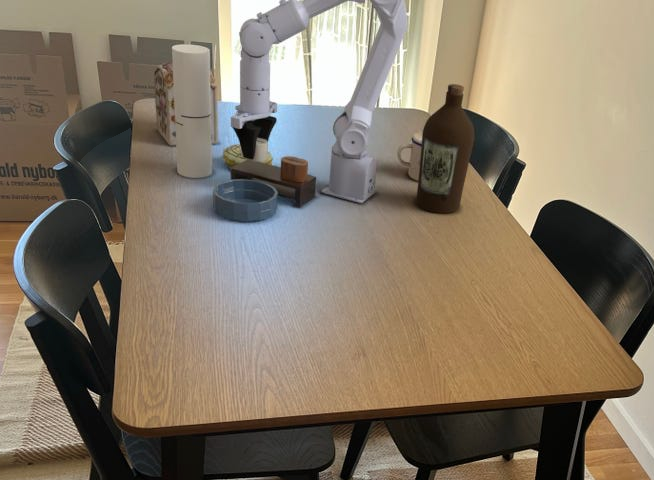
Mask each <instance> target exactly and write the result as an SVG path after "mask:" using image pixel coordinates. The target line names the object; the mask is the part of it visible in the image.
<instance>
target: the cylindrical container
mask: <svg viewBox="0 0 654 480" xmlns="http://www.w3.org/2000/svg"><path fill="white" fill-rule="evenodd" d="M210 50H211V49H209V47H206V46H202V45H197V44H188V43H187V44H186V43H185V44H184V43H183V44H175V45H173V46H172V47H171V55H172V57H171V58H172V60H171V61H172V62H173V83H174V106H175V128H176V146H175V147H176V148H175V150H176V167H177V168H176V170H177V173H178V174H179V175H180V176H182V177H184V178H185V177H186V178H193V179H199V178H200V179H202V178H206V177H209V176H212V174H213V159H212V158H213V157H212V156H213V155H212V144H211V95H210V70H211V51H210Z"/></svg>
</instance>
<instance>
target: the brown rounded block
mask: <svg viewBox="0 0 654 480" xmlns="http://www.w3.org/2000/svg"><path fill="white" fill-rule="evenodd" d="M280 167H281V171H280V177H281V178H283V179H285V180H290V181H293V182H304V181H306V180H307V174H308V171H309V168H308V167H309V161H308V160H307V159H304V158H301V157H300V158H299V157H297V156H292V155H286V156H285V155H284V156H282V157H281V158H280Z"/></svg>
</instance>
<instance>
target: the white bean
mask: <svg viewBox="0 0 654 480" xmlns="http://www.w3.org/2000/svg"><path fill="white" fill-rule="evenodd" d="M268 151H269V140H268V141H267V140H265V139H262V138H258V137H257V141H256V149H255V156H254V159H248V158H244V157H243V154H242V150H241V157H242V158H244V159H247V160H251V161H256V162H263V161H266V160H267V159H268Z"/></svg>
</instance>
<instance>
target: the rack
mask: <svg viewBox="0 0 654 480" xmlns="http://www.w3.org/2000/svg"><path fill="white" fill-rule="evenodd" d="M280 171H281V166H277V165H273V164H272V165H270V164H266V163H262V162H256V161H251V160H245V161H243V162H242V163H240V164H238V165H236V166H234V167H232V168H230V180H234V179H247V180H256V181H260V182H264V183H267V184H269V185H271V186H273V187H274V188H275V189H276V190H277V192H278V198H283V199H286V200H291V201H294V207H295V208H299V209H300V208H301V207H303V206H305V205H306V204H307V203H309V202H311V200H313V199H314V198H316V189H317V176H315V175H311V174H308V173H307V180H306V181H304V182H293V181H290V180H285V179H283V178H281V177H280Z"/></svg>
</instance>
